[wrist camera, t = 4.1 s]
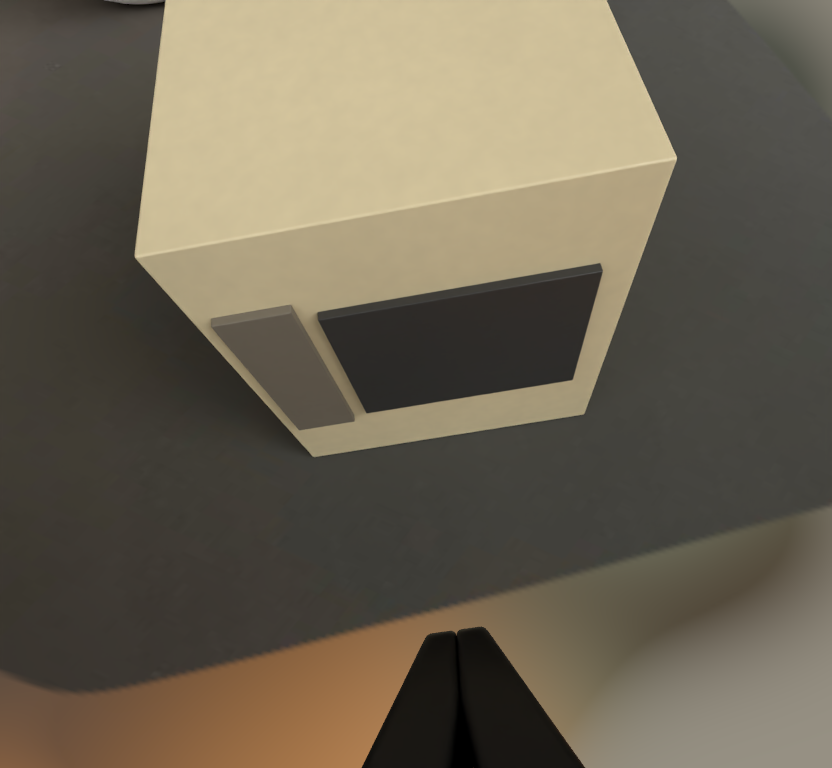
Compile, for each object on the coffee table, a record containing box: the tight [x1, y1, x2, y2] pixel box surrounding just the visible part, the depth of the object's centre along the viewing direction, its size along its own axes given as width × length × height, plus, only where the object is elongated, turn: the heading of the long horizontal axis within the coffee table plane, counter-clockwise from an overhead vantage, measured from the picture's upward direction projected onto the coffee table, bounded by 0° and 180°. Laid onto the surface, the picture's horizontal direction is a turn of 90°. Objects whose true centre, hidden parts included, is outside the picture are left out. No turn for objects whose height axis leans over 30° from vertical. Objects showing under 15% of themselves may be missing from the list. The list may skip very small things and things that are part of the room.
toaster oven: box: [135, 0, 677, 457], centre depth 20 cm, size 12×11×13 cm
